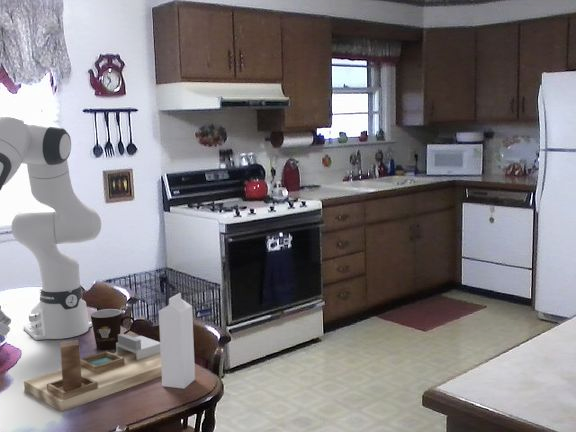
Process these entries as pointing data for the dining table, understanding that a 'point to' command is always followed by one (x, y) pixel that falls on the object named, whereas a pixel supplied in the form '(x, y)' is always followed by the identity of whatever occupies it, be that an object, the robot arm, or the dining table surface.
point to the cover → (138, 345)
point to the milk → (177, 343)
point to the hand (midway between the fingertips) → (8, 327)
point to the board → (95, 378)
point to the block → (70, 365)
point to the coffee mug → (107, 327)
